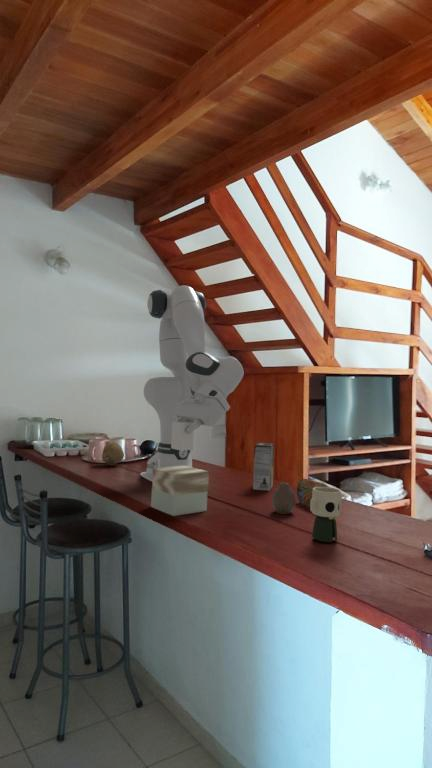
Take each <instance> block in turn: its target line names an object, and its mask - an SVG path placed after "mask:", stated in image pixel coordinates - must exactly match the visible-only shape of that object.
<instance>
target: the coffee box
mask: <svg viewBox="0 0 432 768" xmlns="http://www.w3.org/2000/svg"><path fill="white" fill-rule="evenodd" d="M253 455H254V457H253V479H252V480H253V485H252V489H253V491H254V490H257V491H269V492H270V491H271V489H272V488H273V486H274V485H273V484H274V483H273V480H274V462H275V461H274V459H275V457H274V456H275V443H272V442H270V443H269V442H257V443H256V444H255V445H254V454H253Z"/></svg>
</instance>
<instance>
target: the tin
mask: <svg viewBox="0 0 432 768" xmlns="http://www.w3.org/2000/svg"><path fill="white" fill-rule="evenodd" d="M315 487H328V485H327V484H325V483H324V482H321V481H317V480H314V479H311V478H301V479H300V480H299V482H298V484H297V486H296V496H297V499H298V501H299V503H300V504H301V505H303V506H305V507H309V508H310V501H311V499H312V490H313V488H315Z"/></svg>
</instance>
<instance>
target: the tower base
mask: <svg viewBox="0 0 432 768" xmlns="http://www.w3.org/2000/svg"><path fill="white" fill-rule="evenodd" d="M150 500H151V501H150V507H151V508H153V509H155V510H158V511H160V512H162V513H165V514H168V515H170V516H172V517H175V516H181V515H188V514H189V515H190V514H195V513H200V512H201V513H202V512H207V511H208V510H207V509H208V491H207V492H200V493H193V494H186V495H179V496H174V495H171V494H168V493H165V492H162V491H159V490H156V489H153V488H152V487H151V498H150Z"/></svg>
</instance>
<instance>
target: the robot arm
mask: <svg viewBox="0 0 432 768" xmlns="http://www.w3.org/2000/svg"><path fill="white" fill-rule="evenodd" d="M146 303H147V304H146V306H147V310H148V313H149V315H150V316H151V317H152V318H155V319H161V320H160V323H159V324H160V325H159V331H158V332H159V333H158V334H159V335H158V340H159V341H158V342H159V360H160V362H161V365H162V366H163V367H165V369H168V370H169V371H171V373H172V374H173V376H158V377H153V378H149V379H148V380H147V381H146V383H145V385H144V387H143V396H144V399H145V401H146V402H147V404H148V405H150V406H152V408H153V409H154V411H155V412H156V414H157V417H158V419H159V423H160V440H159V442H158V443H156V445H157V449H156V451H157V452H156V453H154V455H152V456H151V457H150V458H149V459H148V461H147V462H146V471H142V472H140V474H139V475H140V476H141V477H143V478H144V479H145V480H147V481H149V482H153V468H163V467H173V466H183V465H185V466H189V467H193V458H192V456H191V455H190V454H191V450H181V451H180V450H176V449H172V448H171V440H172V422H190V423H192V424H191V425H190V426H187V427H186V428H185V432H186V433H187V434H191V433H192V432H193V431H195V430H197V429H199V428H200V427H201V426H208V427H213V426H215V425H216V424H218V422H220V420H221V419H222V418H223V416H224V415H225V413H226V412H228V411H229V410H230V409H231V406H230V404H229V403H228V400H227V399H228V396H229V395H230V394H231V393H233V392H234V391H235V389H236V388H237V387H238V386H239V384H240V383H241V381H242V380H243V377H244V375H245V373H244V372H245V371H244V367H243V365H242V363H241V362H240V361H239V360H238V359H237V358H236V357H234V356H231V355H229V356H216V355H212V354H210V353H209V352H207V351H206V341H205V340H206V339H205V337H206V334H205V333H206V331H205V330H206V329H205V327H206V326H205V312H206V307H207V302H206V297H205V295H204V294H203V292H200V291H197V290H194V288H193V287H191V286H189V285H186V284H185V285H180V286H177V287H175V288H174V289H165V290H161V289H157V290H153V291H151V292H150V293H149V296H148V298H147V302H146Z"/></svg>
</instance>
